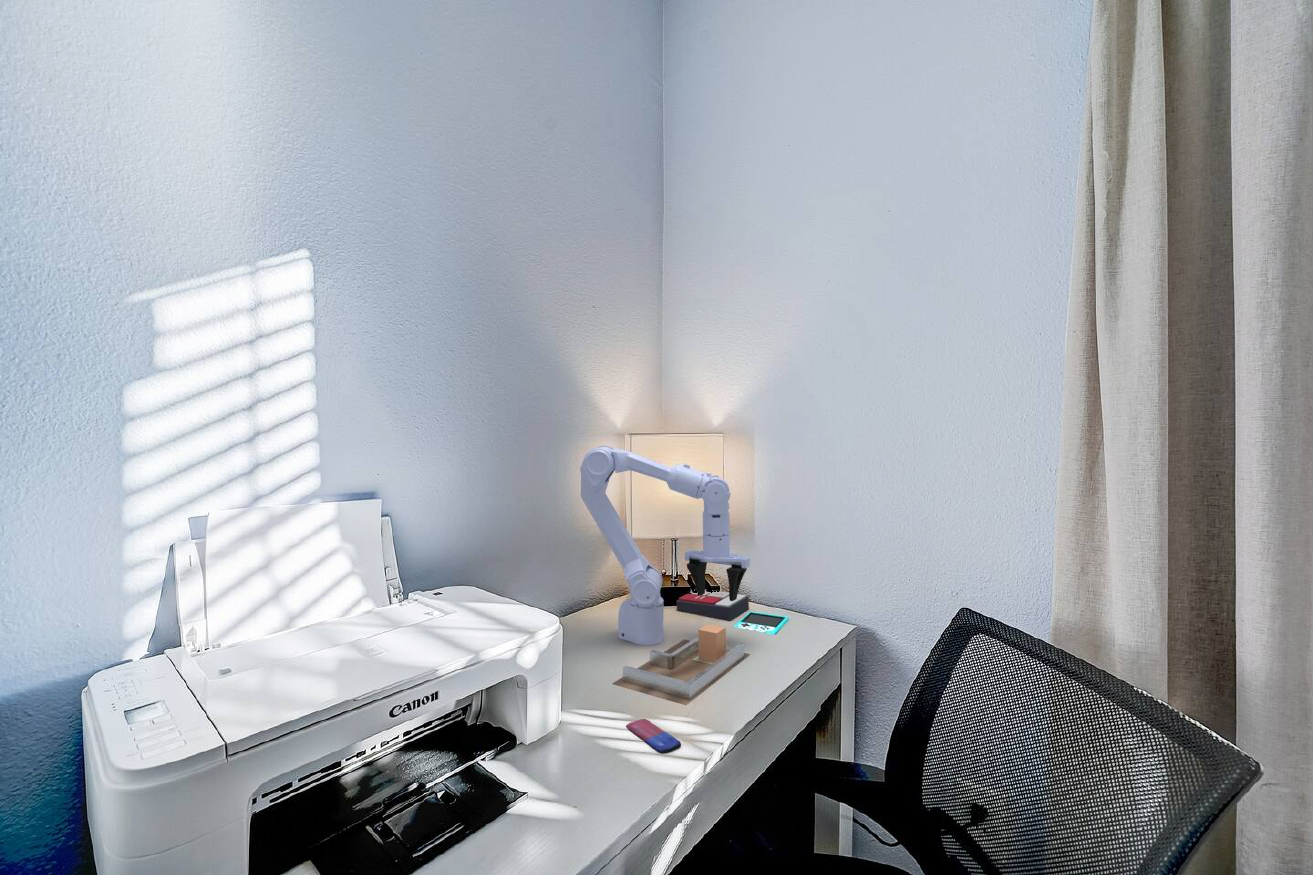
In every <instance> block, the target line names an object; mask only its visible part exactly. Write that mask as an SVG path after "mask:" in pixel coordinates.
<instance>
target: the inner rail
mask: <svg viewBox="0 0 1313 875" xmlns="http://www.w3.org/2000/svg"><path fill="white" fill-rule="evenodd" d="M689 641H690V642H689V643H687V644H685V645H684V646H682V647H681V648H679V649H677V650H676V651H674V652H673V653H671V654H668V653H664V651H659V650H656V649H652V650H650V651H649V661H650V664H651V665H655V666H659V667H663V668H667V669H671V670H672V669H674V668H675V667H677V666H678V665H680V664H681V663H683V662H684V661H686V660H687V659H689V658H690V657H692V656H693V655H695V654H696V653H698V636H697V637H695V638H693V639H692V640H689Z"/></svg>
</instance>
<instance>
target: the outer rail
mask: <svg viewBox="0 0 1313 875" xmlns="http://www.w3.org/2000/svg"><path fill="white" fill-rule="evenodd" d="M744 653H745V644H742V643H738V644H737V645H736V646H734V647H733V648H731V649H730V651H729V652H728V653H726V654H725V655H724V656H722V657H721V658H719V659H718V660H717V661H715V662H714V663H713V664H711V665H710V666H708V667H707V668H706V669H704V670H703V671H702V672H700V673H699V674H698V675H696V676H695V677H693V678H692V679H691V680H689V681H688V682H686V681H682V680H679V679H675V678H671V677H667V676H663V675H660V674H656V673H652V672H648V671H645V670H641V669H637V668H638V667H633V666H628V665H624V666H623V667H622V677H623V681H625V682H629V683H632V684H636V685H639V686H643V687H646V688H650V689H653V690H657V691H661V692H664V693H668V694H671V695H675V696H678V697H682V698H685V699H689V700H690V699H691V698H692V697H694V696H695V695H696V694H698V693H699V692H700V691H701V690H703V689H704V688H705V687H707V686H708V685H709V684H710V683H712V682H713V681H714V680H715V679H717V678H718V677H719V676H721V675H722V674H723V673H724V672H726V671H727V670H728V669H729V668H731V667H732V666H733V665H735V664H736V663H737V662H738V661H740V660H741V659H742V658H744Z"/></svg>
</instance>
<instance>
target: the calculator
mask: <svg viewBox="0 0 1313 875" xmlns="http://www.w3.org/2000/svg"><path fill="white" fill-rule="evenodd" d="M715 591H716V592H714V591H713V592H712V593H711V592H705V594H703V595H701V596H698V594H697V593H692V594H689V593H686V594H685V595H683V596H680V597H678V599H677V600H676V611H677V612H680V613H685V614H690V615H696V616H700V617H708V618H713V619H715V620H720V621H725V622H731V621H733V620H735V619H737V618H739V616H742V615H743V614H745V613H746V612H748V611H749V610H750V602H749V596H747V595H746V594H740V593H738V594H737V599H736V600H734V601H730V599H729V591H719V590H715ZM717 591H719V592H717ZM747 610H748V611H747ZM744 612H745V613H744Z"/></svg>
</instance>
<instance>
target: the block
mask: <svg viewBox="0 0 1313 875" xmlns="http://www.w3.org/2000/svg"><path fill="white" fill-rule="evenodd" d="M697 630H698V636H697V637H698V659H699V660H703V661H707V662H711V663H714V662H715V661H717V660H718V659H719V658H721V657H722V656H724V655H725V654H726V649H727V645H726V644H727V640H726V639H727V634H726V633H727V628H726V627H725V626H721V625H717V624H716V625H715V624H711V623H707V624H705V625H704V626H702V627H700V628H698V629H697Z"/></svg>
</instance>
